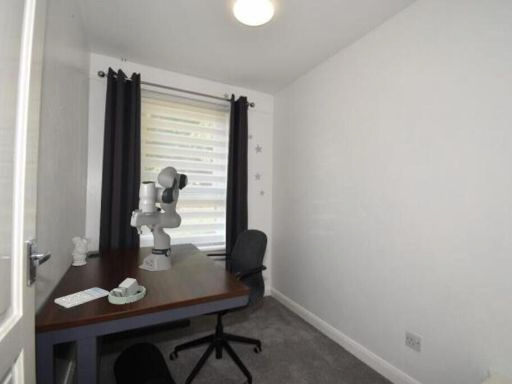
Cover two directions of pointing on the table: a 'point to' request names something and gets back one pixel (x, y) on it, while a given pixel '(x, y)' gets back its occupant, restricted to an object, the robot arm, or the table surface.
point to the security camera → (127, 288)
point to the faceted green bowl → (126, 297)
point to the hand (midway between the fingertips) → (146, 232)
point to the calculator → (81, 297)
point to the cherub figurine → (80, 250)
